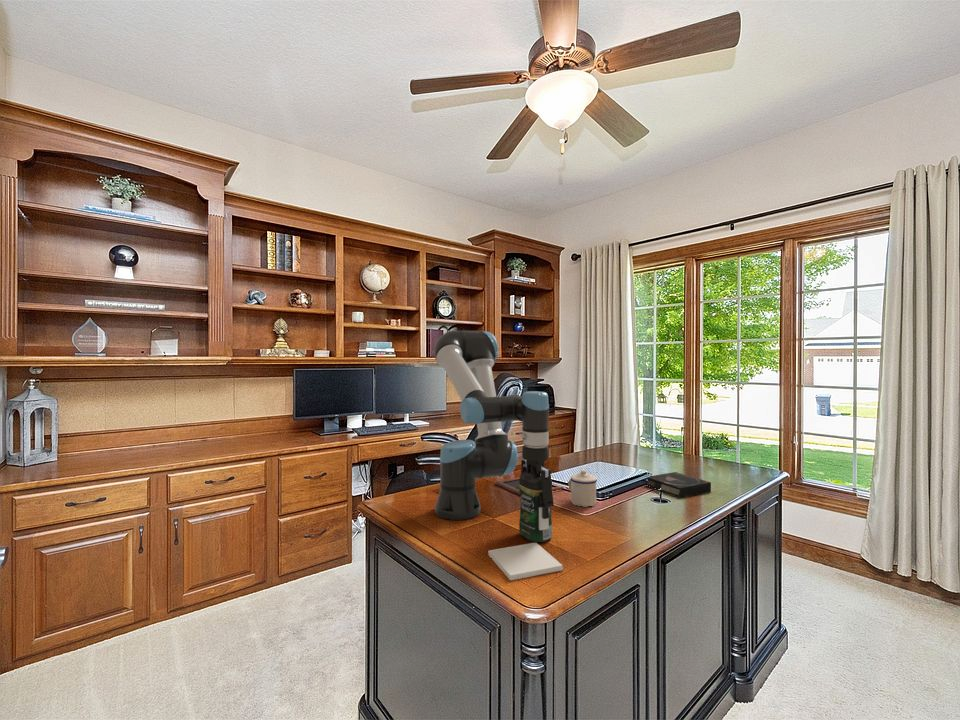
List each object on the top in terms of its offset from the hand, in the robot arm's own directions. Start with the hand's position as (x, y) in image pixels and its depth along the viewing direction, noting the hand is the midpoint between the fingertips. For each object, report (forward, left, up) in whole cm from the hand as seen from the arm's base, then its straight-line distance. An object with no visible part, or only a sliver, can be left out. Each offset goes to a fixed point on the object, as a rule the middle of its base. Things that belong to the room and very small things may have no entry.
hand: (535, 522), depth 128 cm
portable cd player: (-21, +73, -5) cm, 76 cm away
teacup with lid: (-21, +29, -4) cm, 36 cm away
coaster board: (+13, -10, -4) cm, 17 cm away
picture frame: (-44, +23, -5) cm, 50 cm away
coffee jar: (0, 0, -4) cm, 4 cm away
